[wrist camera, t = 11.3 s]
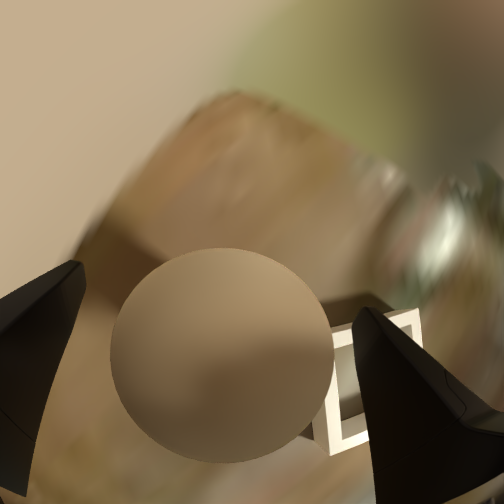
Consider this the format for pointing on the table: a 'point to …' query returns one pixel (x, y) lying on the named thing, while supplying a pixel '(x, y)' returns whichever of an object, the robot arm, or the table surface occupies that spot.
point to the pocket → (328, 417)
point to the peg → (222, 355)
